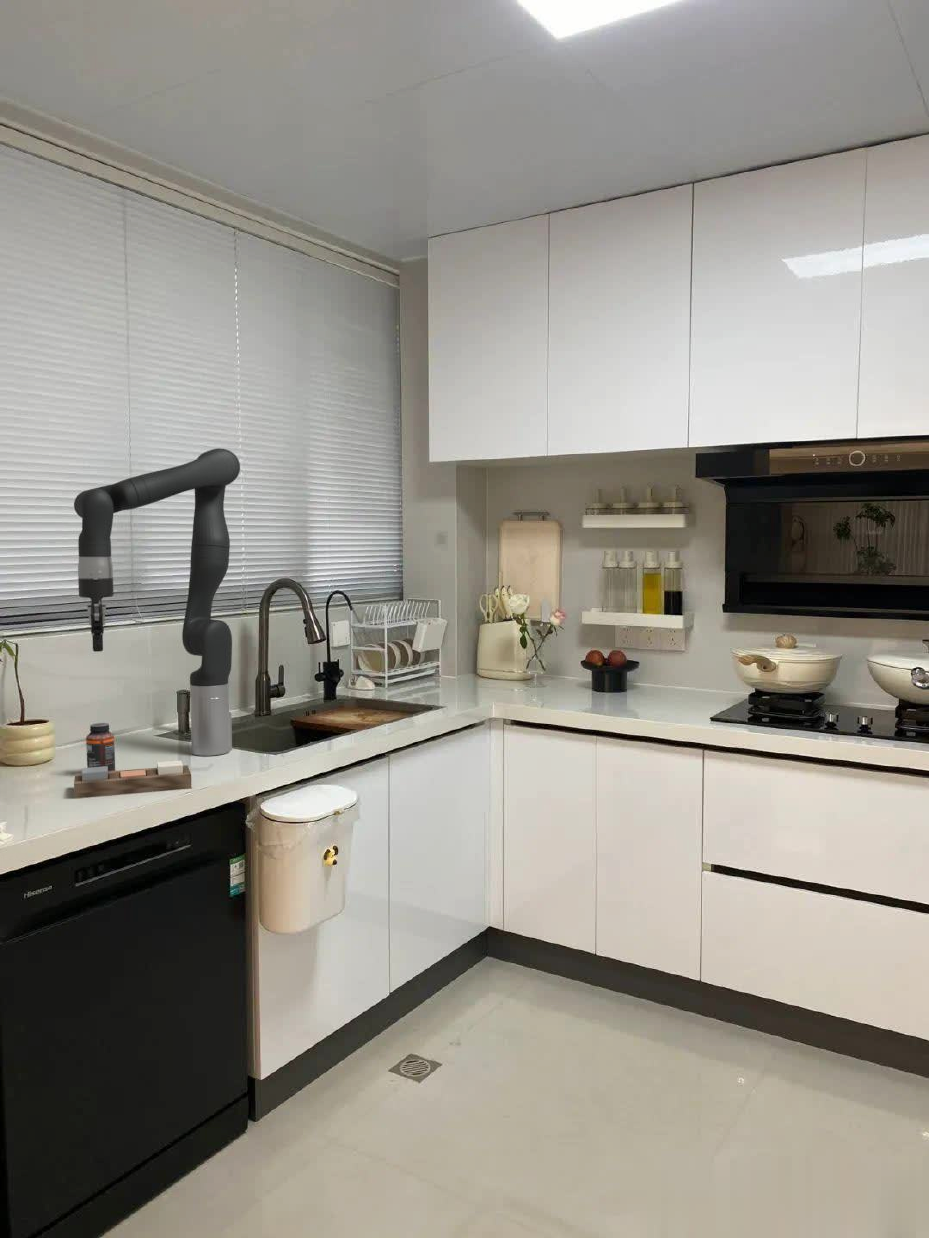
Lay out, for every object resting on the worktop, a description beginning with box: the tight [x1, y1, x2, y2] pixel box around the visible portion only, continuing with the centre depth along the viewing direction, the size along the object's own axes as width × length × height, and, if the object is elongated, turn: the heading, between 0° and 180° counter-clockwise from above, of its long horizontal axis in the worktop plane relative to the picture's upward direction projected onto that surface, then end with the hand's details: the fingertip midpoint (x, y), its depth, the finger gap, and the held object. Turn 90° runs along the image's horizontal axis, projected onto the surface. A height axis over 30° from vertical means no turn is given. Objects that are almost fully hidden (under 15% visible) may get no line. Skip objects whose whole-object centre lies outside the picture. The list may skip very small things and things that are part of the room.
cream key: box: [156, 760, 184, 775], centre depth 204 cm, size 5×5×2 cm
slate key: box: [81, 766, 108, 781], centre depth 198 cm, size 5×5×2 cm
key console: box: [73, 764, 192, 799], centre depth 201 cm, size 23×9×3 cm, turn 111°
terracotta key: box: [120, 769, 146, 778], centre depth 201 cm, size 5×5×2 cm
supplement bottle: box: [85, 722, 116, 771], centre depth 214 cm, size 6×6×11 cm
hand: (98, 651), depth 220 cm, fingers closed
